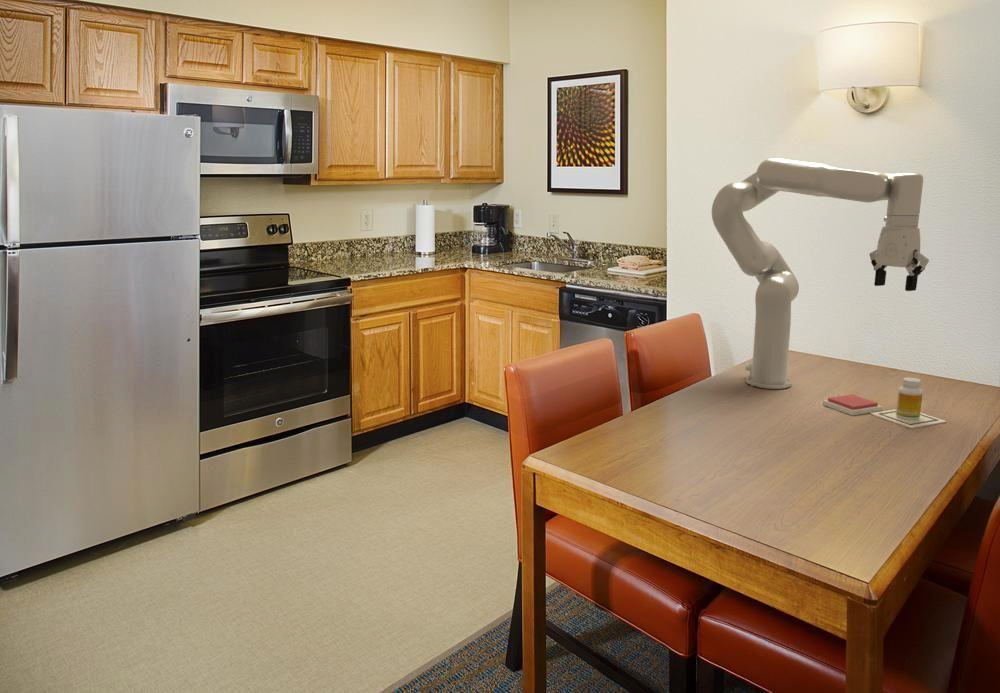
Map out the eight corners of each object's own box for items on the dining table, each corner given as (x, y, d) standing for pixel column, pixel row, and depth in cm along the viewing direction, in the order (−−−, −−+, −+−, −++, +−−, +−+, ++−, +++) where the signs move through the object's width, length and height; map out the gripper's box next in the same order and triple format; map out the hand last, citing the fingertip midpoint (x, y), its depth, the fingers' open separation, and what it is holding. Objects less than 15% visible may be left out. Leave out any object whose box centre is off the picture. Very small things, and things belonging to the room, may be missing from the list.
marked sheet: (870, 414, 196) (870, 412, 196) (905, 408, 201) (905, 407, 201) (910, 428, 185) (911, 426, 185) (946, 422, 190) (946, 420, 190)
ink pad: (822, 404, 204) (823, 397, 204) (851, 400, 208) (852, 393, 208) (852, 415, 195) (853, 407, 195) (881, 410, 199) (882, 403, 199)
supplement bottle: (922, 420, 190) (927, 382, 188) (898, 419, 191) (903, 381, 189) (915, 414, 195) (920, 377, 193) (892, 413, 196) (896, 376, 194)
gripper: (864, 220, 206) (857, 284, 209) (920, 224, 190) (912, 293, 194) (885, 219, 208) (878, 283, 212) (942, 223, 193) (934, 291, 196)
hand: (894, 288), depth 203 cm, fingers open, 9 cm apart
